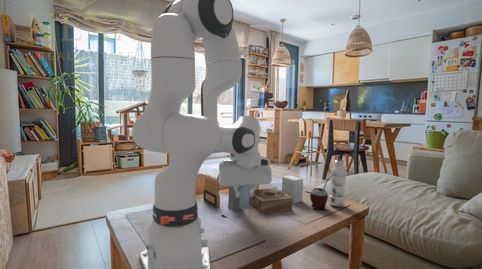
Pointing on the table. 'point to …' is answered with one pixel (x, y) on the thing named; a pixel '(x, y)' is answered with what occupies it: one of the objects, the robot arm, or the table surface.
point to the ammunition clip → (211, 191)
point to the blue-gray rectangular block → (244, 197)
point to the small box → (293, 187)
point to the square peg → (233, 199)
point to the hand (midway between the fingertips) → (244, 196)
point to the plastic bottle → (338, 184)
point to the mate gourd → (319, 197)
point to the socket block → (270, 200)
